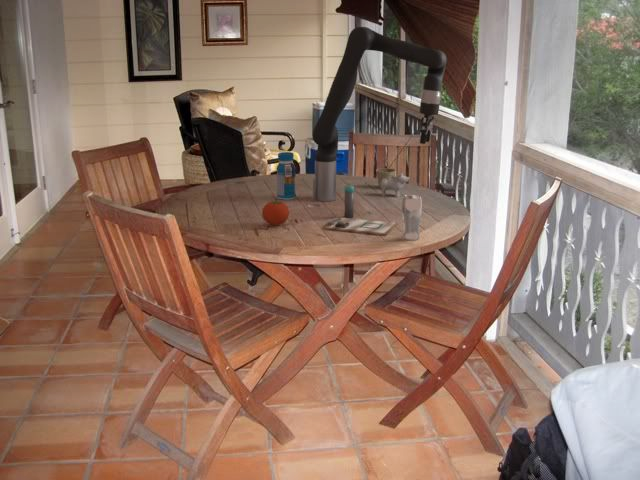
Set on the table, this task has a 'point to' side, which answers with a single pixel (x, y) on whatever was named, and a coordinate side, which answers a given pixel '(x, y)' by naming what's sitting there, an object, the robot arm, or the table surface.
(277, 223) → the tomato
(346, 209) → the marker
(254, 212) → the table surface
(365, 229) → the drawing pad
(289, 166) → the beverage bottle
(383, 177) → the flower pot
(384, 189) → the dog figurine
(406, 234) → the beer glass
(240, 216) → the table surface
